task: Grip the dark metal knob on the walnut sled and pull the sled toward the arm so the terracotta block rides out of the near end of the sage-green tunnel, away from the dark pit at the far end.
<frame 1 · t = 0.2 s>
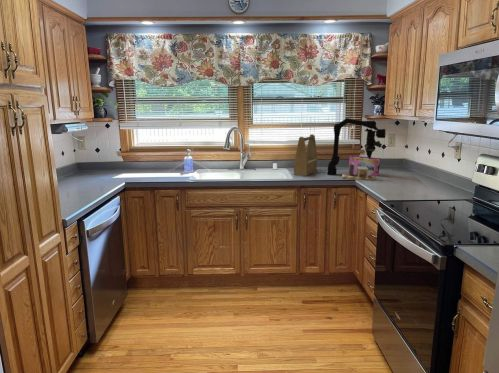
hand: (368, 158, 288), 14 cm above the worktop, tool pointing down, fingers open, 9 cm apart
caddy: (305, 172, 303), on the worktop
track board: (357, 178, 283), on the worktop
block: (362, 175, 281), point 2 cm above the worktop, touching sled
gum box: (363, 174, 301), on the worktop
tunnel: (361, 178, 282), resting on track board
sled: (358, 170, 281), point 6 cm above the worktop, slide at 0.0 cm, touching block
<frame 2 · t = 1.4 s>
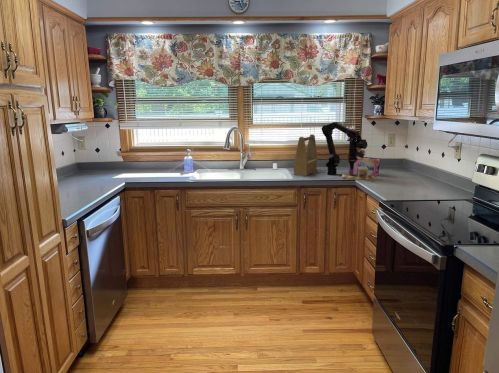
hand: (351, 168, 282), 7 cm above the worktop, tool pointing down, fingers open, 9 cm apart
nothing on the worktop moved.
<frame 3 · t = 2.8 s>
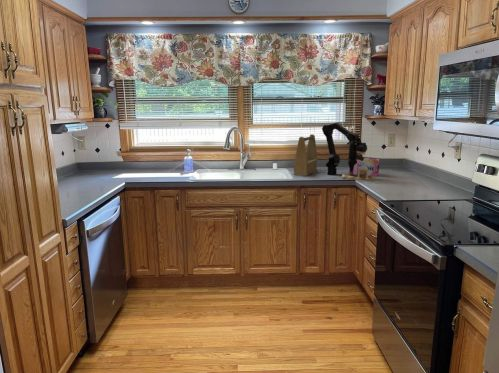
hand: (351, 171, 283), 5 cm above the worktop, tool pointing down, fingers closed on sled, 3 cm apart
sled: (358, 170, 281), point 6 cm above the worktop, slide at 0.0 cm, touching block, gripper
everything else where it was.
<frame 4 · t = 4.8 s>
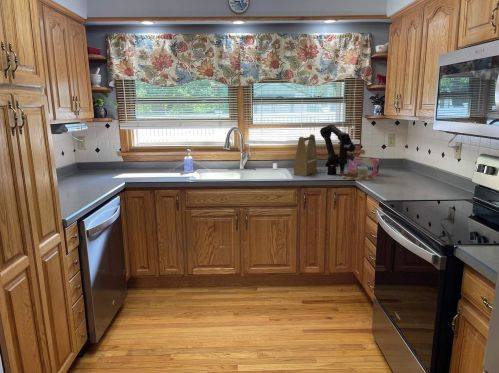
hand: (342, 171, 284), 5 cm above the worktop, tool pointing down, fingers closed on sled, 3 cm apart
block: (352, 174, 283), point 2 cm above the worktop, touching sled
sled: (348, 169, 283), point 6 cm above the worktop, slide at 6.9 cm, touching block, gripper
everything else where it was.
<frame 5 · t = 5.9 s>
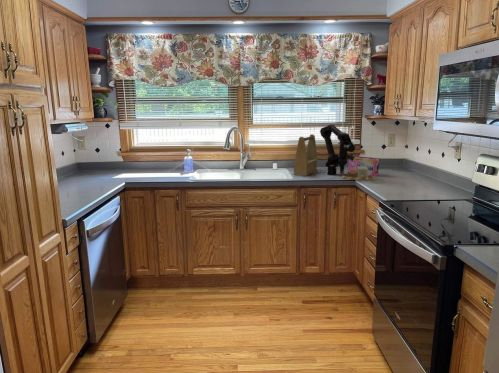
hand: (341, 171, 284), 5 cm above the worktop, tool pointing down, fingers open, 6 cm apart
sled: (348, 169, 283), point 6 cm above the worktop, slide at 6.9 cm, touching block
everything else where it was.
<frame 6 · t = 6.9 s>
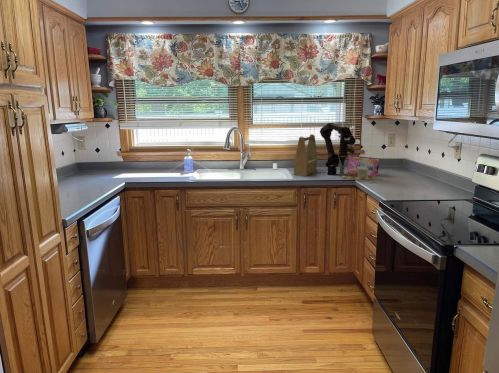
hand: (342, 164, 283), 10 cm above the worktop, tool pointing down, fingers open, 9 cm apart
nothing on the worktop moved.
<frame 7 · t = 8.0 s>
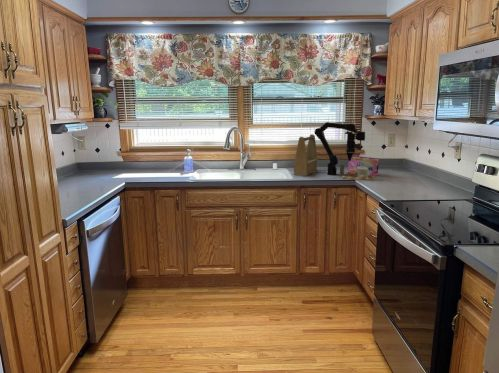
hand: (349, 160, 290), 12 cm above the worktop, tool pointing down, fingers open, 9 cm apart
nothing on the worktop moved.
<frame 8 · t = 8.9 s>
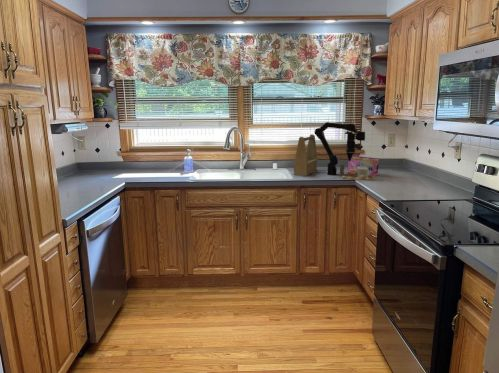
hand: (349, 160, 290), 12 cm above the worktop, tool pointing down, fingers open, 9 cm apart
nothing on the worktop moved.
at the end: sled slide at 6.9 cm; block 2.2 cm from the target spot, point 2.5 cm above the worktop; block tilted 0° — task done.
